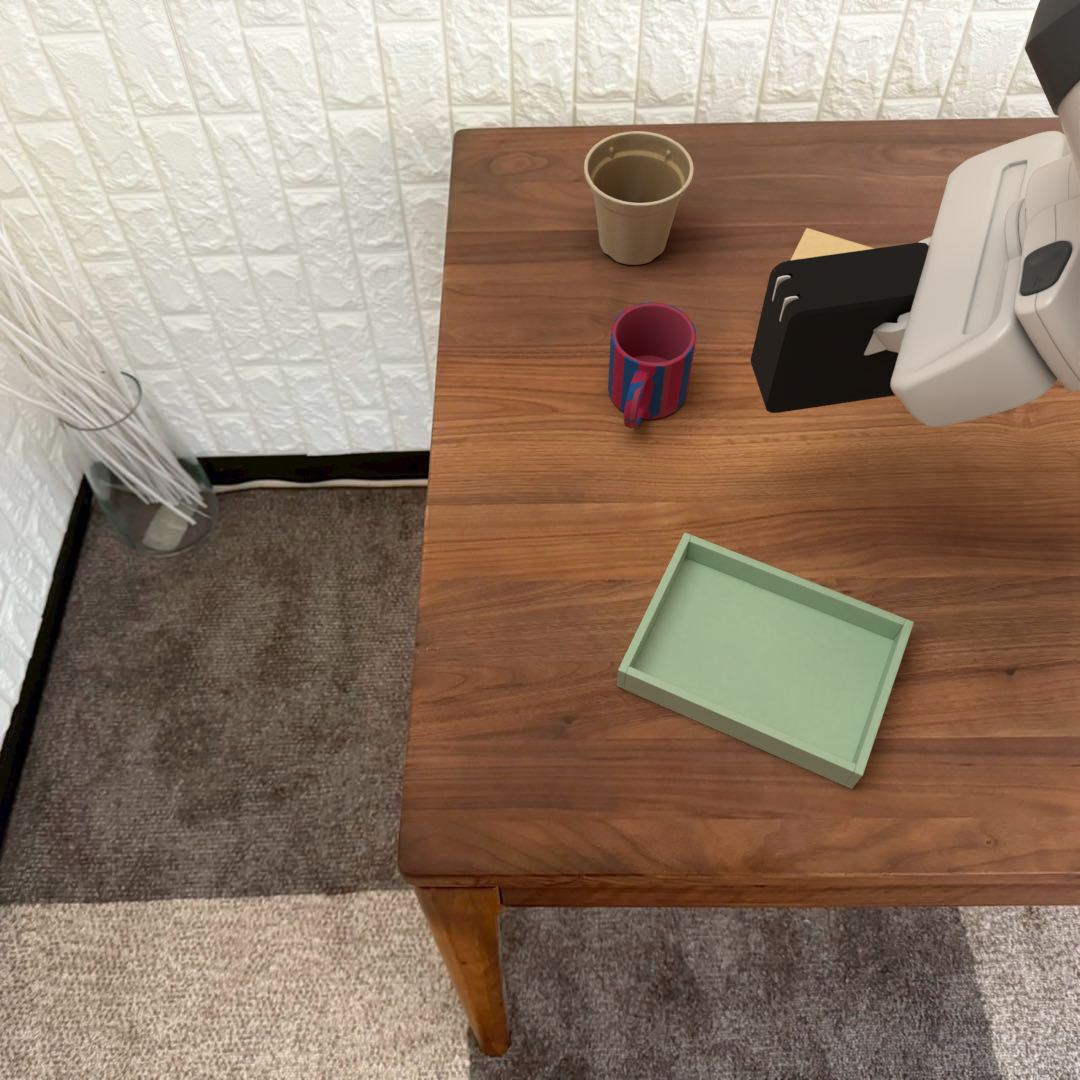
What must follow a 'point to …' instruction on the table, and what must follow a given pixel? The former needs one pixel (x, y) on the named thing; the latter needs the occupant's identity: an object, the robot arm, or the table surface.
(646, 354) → the mug
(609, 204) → the flower pot
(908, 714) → the table surface
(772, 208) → the table surface
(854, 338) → the electronic device
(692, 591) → the tray
